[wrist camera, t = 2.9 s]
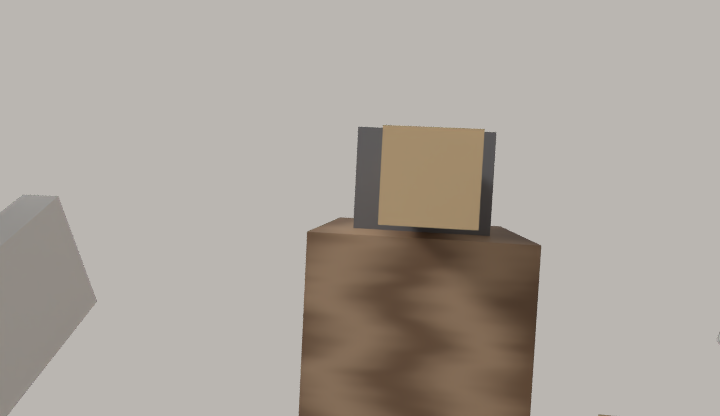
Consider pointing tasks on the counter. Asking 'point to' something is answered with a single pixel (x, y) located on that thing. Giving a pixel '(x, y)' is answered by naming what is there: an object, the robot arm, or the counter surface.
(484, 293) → the walnut post
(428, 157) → the grey and tan block
